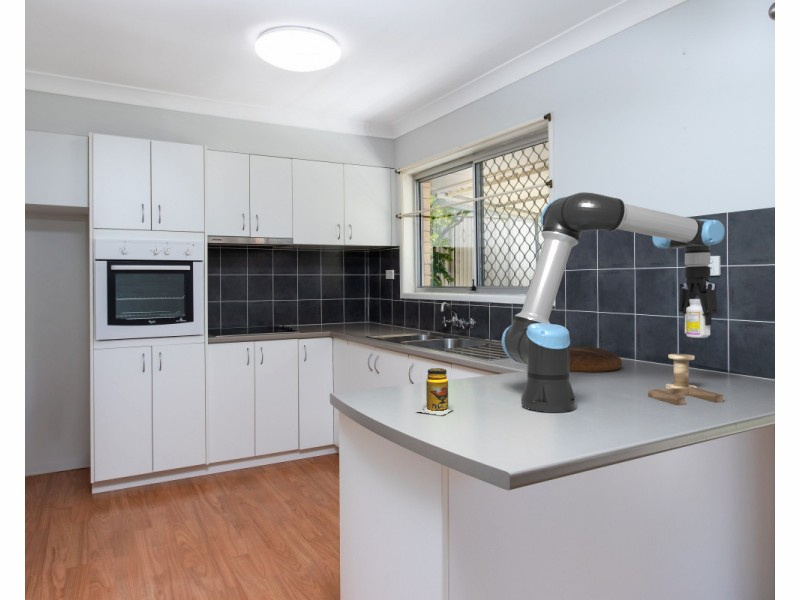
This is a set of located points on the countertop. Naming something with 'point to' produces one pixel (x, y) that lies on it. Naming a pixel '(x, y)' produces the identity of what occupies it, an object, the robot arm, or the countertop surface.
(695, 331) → the supplement bottle
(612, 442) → the countertop surface
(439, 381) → the condiment
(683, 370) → the bobbin
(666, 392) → the notch board
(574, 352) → the bread
